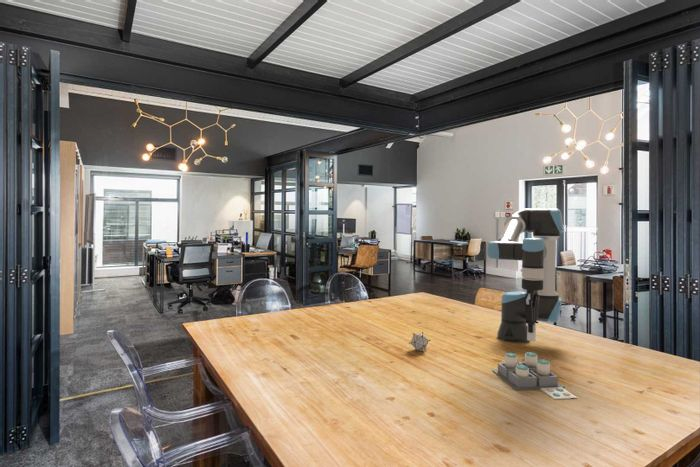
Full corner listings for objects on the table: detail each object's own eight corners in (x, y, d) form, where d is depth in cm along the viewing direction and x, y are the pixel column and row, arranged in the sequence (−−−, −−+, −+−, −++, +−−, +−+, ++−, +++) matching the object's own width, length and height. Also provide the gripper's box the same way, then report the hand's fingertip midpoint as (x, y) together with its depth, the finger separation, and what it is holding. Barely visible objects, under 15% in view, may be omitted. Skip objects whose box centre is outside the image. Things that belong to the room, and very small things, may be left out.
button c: (545, 371, 148) (545, 358, 148) (552, 376, 144) (552, 363, 143) (533, 372, 147) (534, 359, 147) (540, 376, 143) (541, 363, 143)
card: (561, 388, 141) (561, 386, 141) (577, 398, 133) (577, 396, 133) (540, 389, 140) (540, 387, 140) (554, 399, 132) (554, 397, 132)
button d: (533, 364, 156) (533, 351, 156) (539, 368, 151) (539, 355, 151) (522, 364, 155) (522, 352, 155) (528, 368, 151) (528, 356, 151)
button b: (513, 364, 155) (513, 352, 155) (519, 368, 151) (519, 356, 150) (502, 365, 155) (502, 352, 154) (508, 369, 150) (508, 356, 150)
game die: (423, 359, 180) (429, 346, 174) (405, 351, 182) (411, 338, 176) (427, 345, 187) (433, 331, 181) (409, 337, 189) (416, 324, 183)
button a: (524, 377, 147) (524, 364, 147) (531, 382, 143) (531, 368, 143) (513, 377, 147) (513, 364, 147) (519, 382, 142) (519, 369, 142)
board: (535, 369, 159) (535, 360, 159) (564, 388, 141) (564, 378, 141) (492, 370, 157) (492, 361, 157) (515, 390, 139) (516, 380, 139)
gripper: (526, 276, 160) (525, 335, 160) (516, 279, 149) (515, 342, 150) (547, 277, 155) (546, 338, 156) (538, 281, 145) (537, 346, 145)
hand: (531, 340), depth 153 cm, fingers closed
